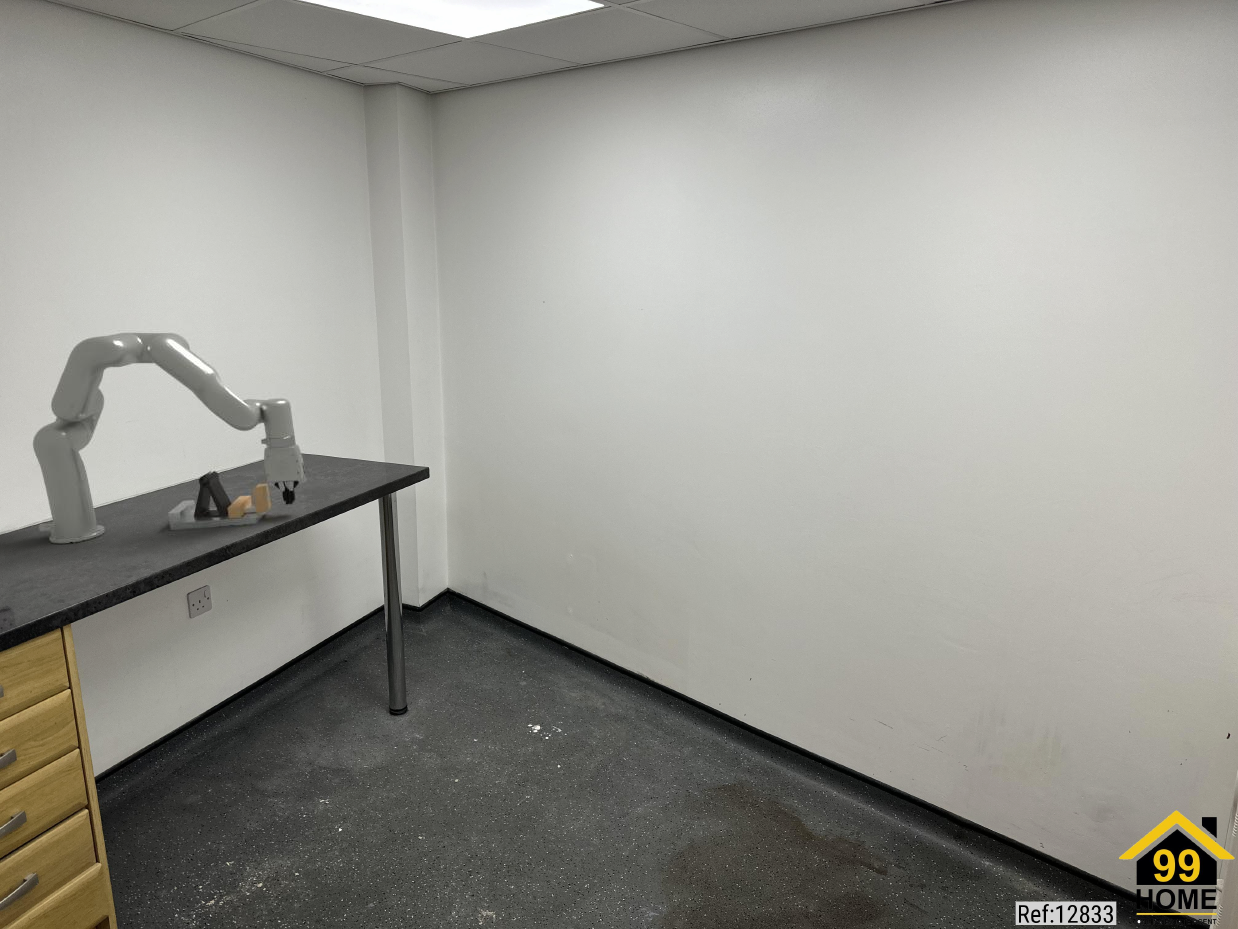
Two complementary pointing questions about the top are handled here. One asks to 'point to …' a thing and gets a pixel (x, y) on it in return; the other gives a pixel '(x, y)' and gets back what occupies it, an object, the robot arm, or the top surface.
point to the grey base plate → (216, 521)
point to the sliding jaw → (245, 504)
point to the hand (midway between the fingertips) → (289, 503)
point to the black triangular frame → (209, 489)
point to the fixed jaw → (181, 511)
